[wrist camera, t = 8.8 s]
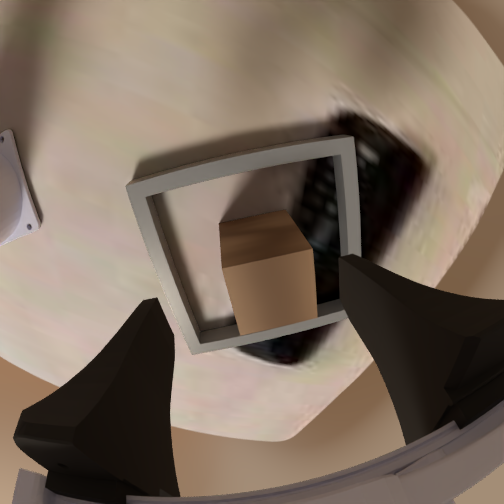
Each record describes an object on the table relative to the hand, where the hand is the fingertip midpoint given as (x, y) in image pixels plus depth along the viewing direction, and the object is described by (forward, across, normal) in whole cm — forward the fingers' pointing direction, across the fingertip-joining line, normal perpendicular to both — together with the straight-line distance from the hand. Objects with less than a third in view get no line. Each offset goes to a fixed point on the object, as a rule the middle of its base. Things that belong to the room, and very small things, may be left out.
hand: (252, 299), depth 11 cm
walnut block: (+9, -1, +2) cm, 10 cm away
